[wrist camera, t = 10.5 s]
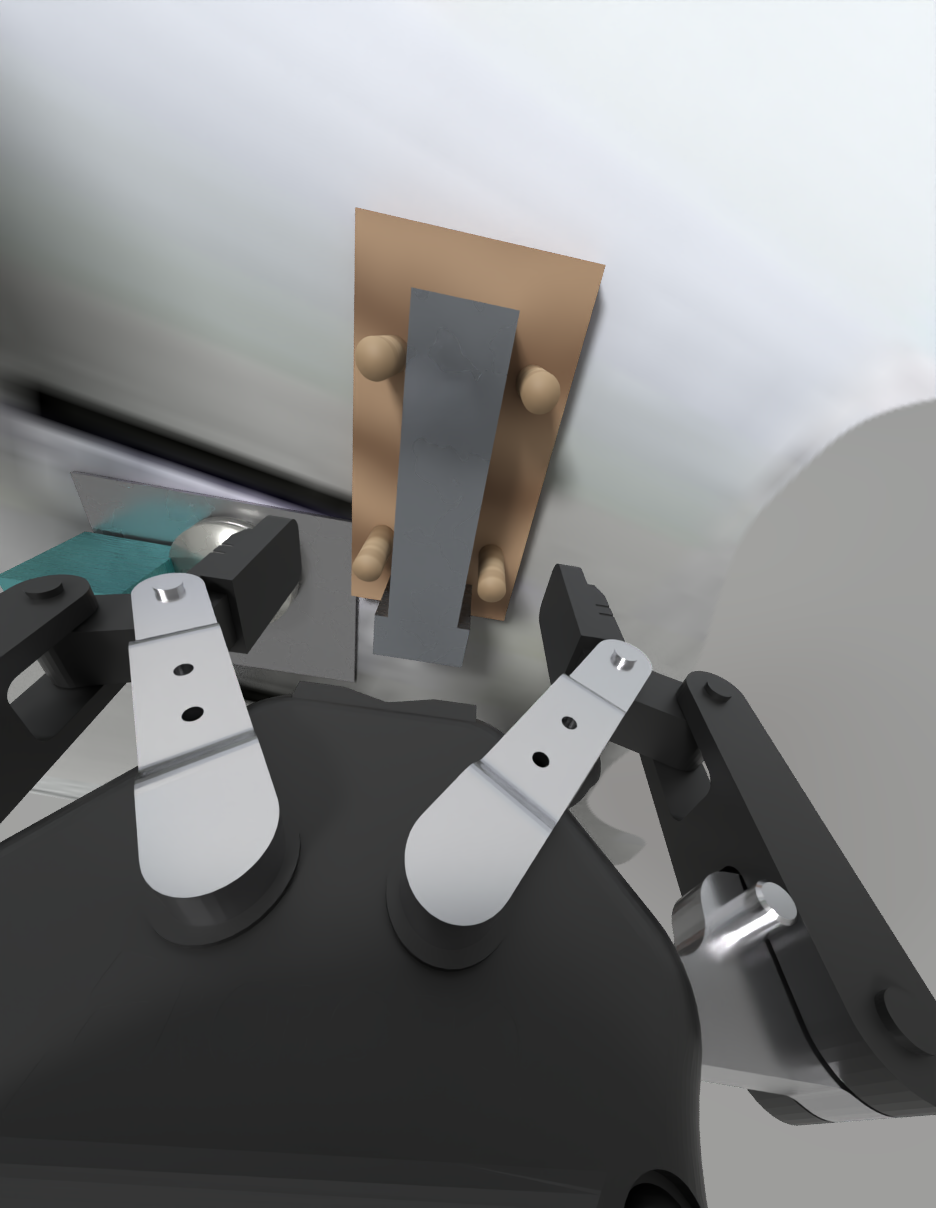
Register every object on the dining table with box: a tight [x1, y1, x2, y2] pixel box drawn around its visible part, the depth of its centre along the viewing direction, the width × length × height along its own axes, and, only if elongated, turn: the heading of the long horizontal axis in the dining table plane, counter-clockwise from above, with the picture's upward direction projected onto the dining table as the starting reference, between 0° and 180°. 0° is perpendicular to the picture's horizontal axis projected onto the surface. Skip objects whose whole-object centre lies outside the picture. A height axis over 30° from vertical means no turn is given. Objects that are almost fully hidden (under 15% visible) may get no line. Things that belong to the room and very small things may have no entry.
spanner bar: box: [373, 287, 520, 667], centre depth 22 cm, size 18×6×5 cm, turn 170°
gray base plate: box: [70, 471, 357, 682], centre depth 30 cm, size 15×18×1 cm
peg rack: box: [351, 207, 605, 621], centre depth 22 cm, size 20×11×6 cm, turn 170°
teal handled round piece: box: [0, 517, 299, 624], centre depth 26 cm, size 8×14×6 cm, turn 80°
